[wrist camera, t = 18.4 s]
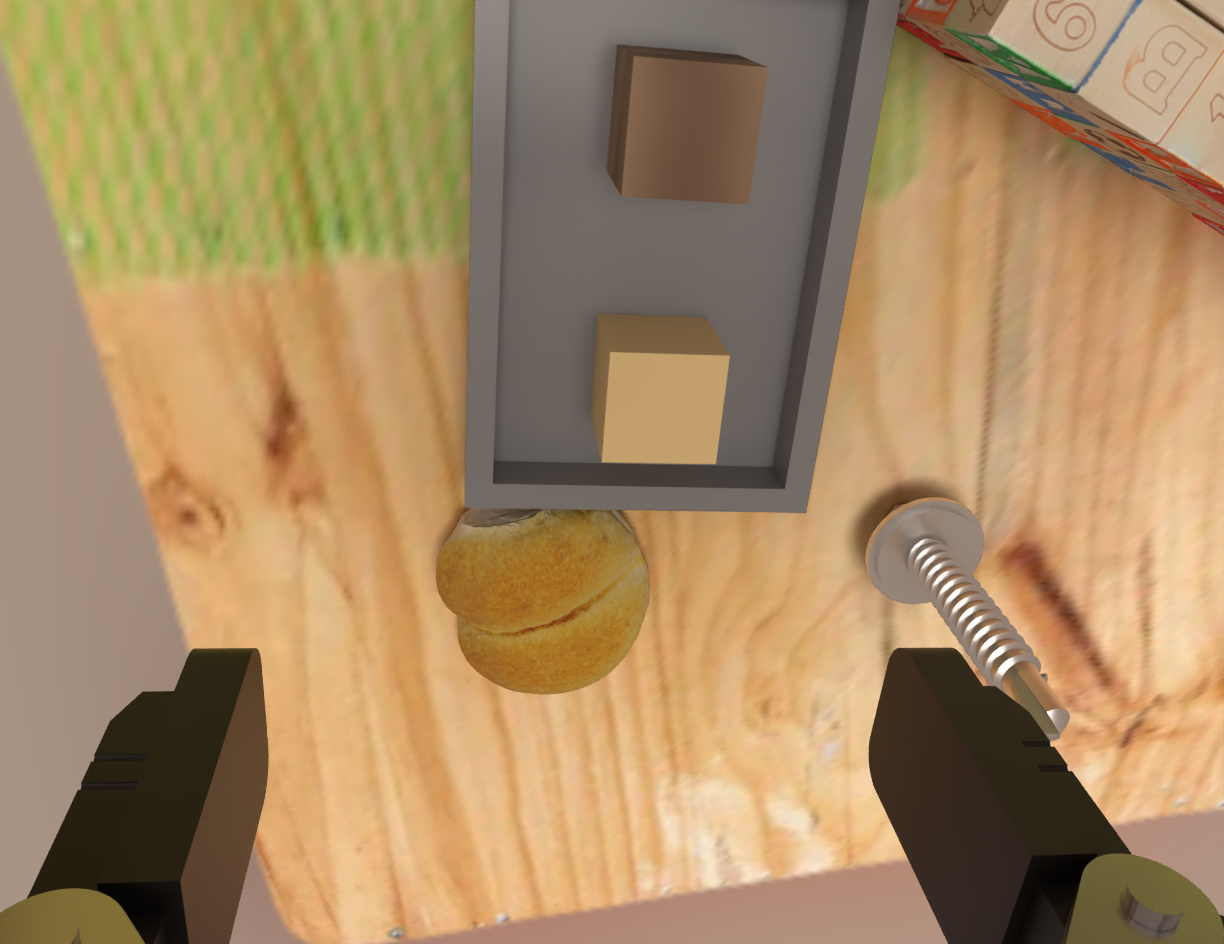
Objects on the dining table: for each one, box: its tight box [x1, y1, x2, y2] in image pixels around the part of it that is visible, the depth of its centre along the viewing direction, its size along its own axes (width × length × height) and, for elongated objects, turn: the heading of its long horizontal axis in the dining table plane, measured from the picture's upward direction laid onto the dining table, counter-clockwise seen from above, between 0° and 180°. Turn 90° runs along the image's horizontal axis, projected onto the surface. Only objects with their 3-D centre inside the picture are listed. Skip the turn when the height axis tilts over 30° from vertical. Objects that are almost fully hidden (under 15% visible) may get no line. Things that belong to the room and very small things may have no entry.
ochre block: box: [590, 314, 730, 464], centre depth 37 cm, size 4×4×4 cm
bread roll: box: [436, 508, 650, 694], centre depth 42 cm, size 8×9×4 cm
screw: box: [865, 497, 1070, 741], centre depth 38 cm, size 13×5×5 cm
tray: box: [465, 0, 901, 513], centre depth 36 cm, size 13×19×2 cm
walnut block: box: [607, 44, 768, 205], centre depth 33 cm, size 4×4×4 cm
